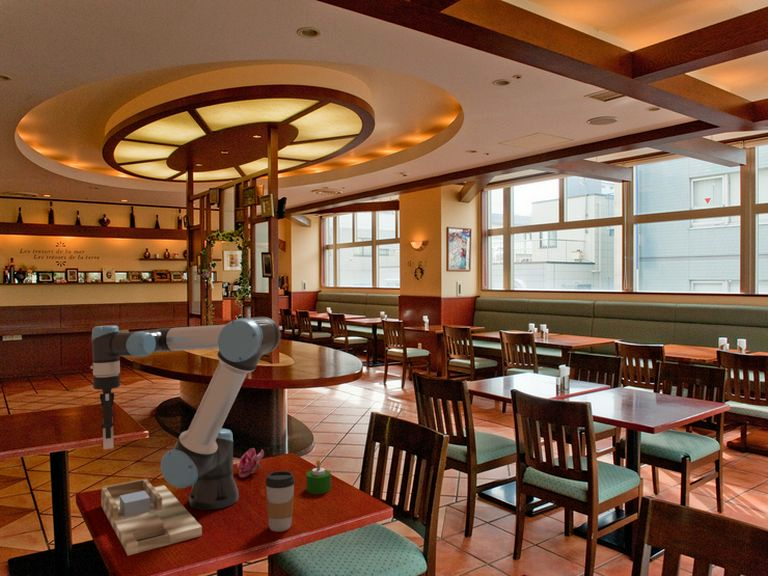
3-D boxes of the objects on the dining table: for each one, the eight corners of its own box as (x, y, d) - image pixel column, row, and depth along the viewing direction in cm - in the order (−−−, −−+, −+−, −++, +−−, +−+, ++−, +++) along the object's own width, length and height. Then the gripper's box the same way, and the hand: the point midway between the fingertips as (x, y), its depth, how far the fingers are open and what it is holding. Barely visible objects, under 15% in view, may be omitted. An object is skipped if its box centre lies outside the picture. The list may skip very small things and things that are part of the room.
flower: (240, 487, 197) (226, 463, 199) (251, 480, 207) (237, 457, 208) (265, 470, 196) (251, 446, 198) (275, 463, 206) (261, 441, 207)
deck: (101, 506, 172) (101, 487, 172) (164, 492, 184) (164, 474, 184) (127, 555, 141) (127, 532, 141) (201, 535, 152) (201, 514, 152)
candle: (335, 488, 188) (335, 459, 188) (320, 496, 181) (320, 465, 181) (316, 483, 193) (316, 455, 192) (301, 490, 186) (301, 461, 185)
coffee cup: (267, 521, 162) (267, 470, 161) (295, 520, 162) (295, 469, 162) (263, 534, 153) (263, 480, 153) (293, 533, 154) (293, 479, 154)
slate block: (119, 508, 164) (119, 495, 164) (144, 503, 168) (144, 490, 168) (124, 516, 159) (124, 503, 159) (150, 511, 163) (150, 497, 163)
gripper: (93, 371, 180) (95, 435, 180) (92, 382, 158) (94, 455, 158) (119, 369, 184) (120, 432, 184) (120, 379, 162) (122, 451, 162)
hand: (108, 443), depth 171 cm, fingers open, 13 cm apart
